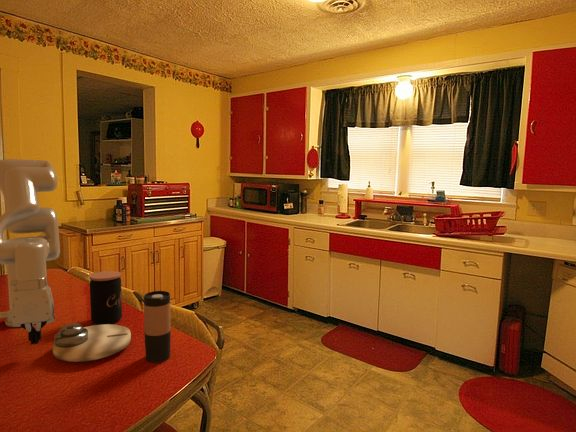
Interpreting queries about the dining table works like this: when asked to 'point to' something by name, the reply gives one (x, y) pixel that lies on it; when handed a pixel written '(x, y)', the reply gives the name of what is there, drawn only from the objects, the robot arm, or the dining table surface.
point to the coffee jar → (105, 297)
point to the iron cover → (71, 336)
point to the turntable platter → (96, 344)
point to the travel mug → (157, 326)
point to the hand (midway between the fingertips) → (35, 342)
